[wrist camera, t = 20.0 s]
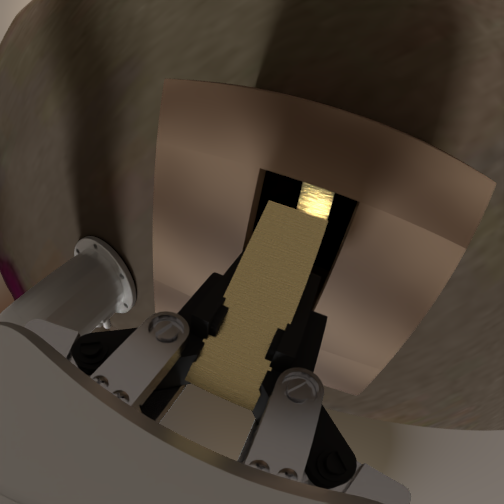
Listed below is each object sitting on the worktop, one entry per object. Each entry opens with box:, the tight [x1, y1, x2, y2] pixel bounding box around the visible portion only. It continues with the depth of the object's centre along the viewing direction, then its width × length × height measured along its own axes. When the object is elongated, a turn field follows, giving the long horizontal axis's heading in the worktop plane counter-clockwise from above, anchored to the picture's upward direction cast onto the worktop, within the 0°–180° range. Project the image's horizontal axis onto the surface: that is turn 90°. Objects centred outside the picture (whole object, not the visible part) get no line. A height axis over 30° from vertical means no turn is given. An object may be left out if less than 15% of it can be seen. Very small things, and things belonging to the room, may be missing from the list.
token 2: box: [297, 182, 335, 220], centre depth 20 cm, size 5×2×6 cm
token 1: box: [185, 200, 328, 411], centre depth 10 cm, size 5×2×6 cm
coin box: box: [153, 79, 496, 396], centre depth 17 cm, size 14×14×11 cm
